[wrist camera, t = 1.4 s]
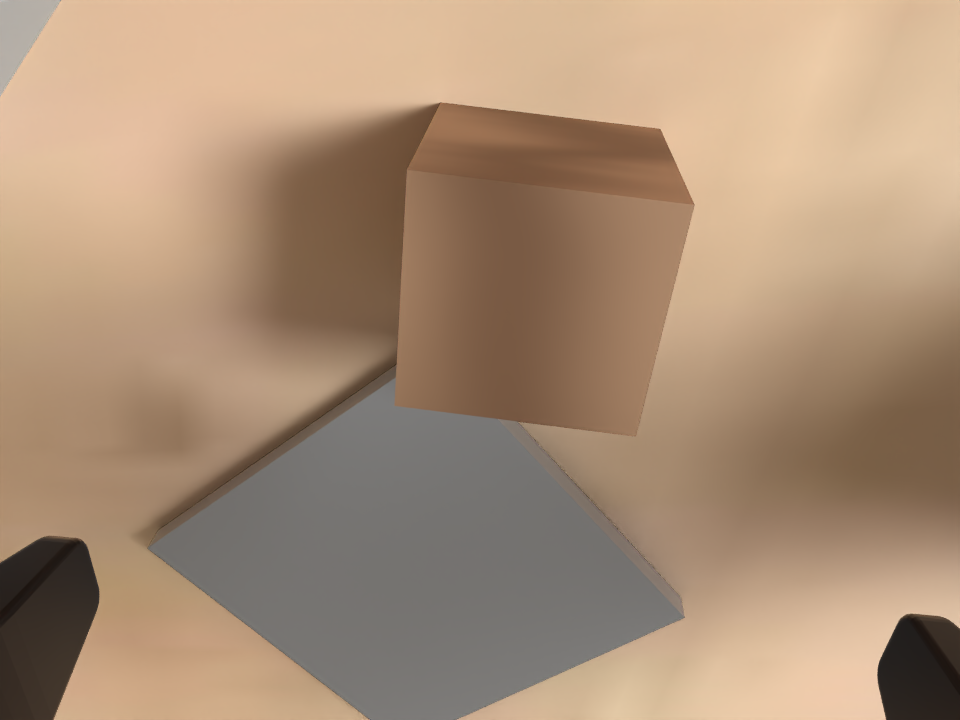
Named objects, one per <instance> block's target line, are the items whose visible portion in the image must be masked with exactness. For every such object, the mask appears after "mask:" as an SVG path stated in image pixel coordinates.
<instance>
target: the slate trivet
mask: <svg viewBox="0 0 960 720" xmlns="http://www.w3.org/2000/svg"><path fill="white" fill-rule="evenodd" d="M396 366H397V365H395V366H394V367H392V368H391V369H389V370H388V371H387V372H385V373H384V374H382V375H381V376H379V377H378V378H376V379H375V380H374V381H372V382H371V383H369V384H368V385H366V386H365V387H364V388H362V389H361V390H359V391H358V392H356V393H355V394H353V395H352V396H351V397H349V398H348V399H346V400H345V401H343V402H342V403H341V404H339V405H338V406H336V407H335V408H333V409H332V410H330V411H329V412H328V413H326V414H325V415H323V416H322V417H320V418H319V419H318V420H316V421H315V422H313V423H312V424H310V425H309V426H307V427H306V428H305V429H303V430H302V431H300V432H299V433H297V434H296V435H294V436H293V437H292V438H290V439H289V440H287V441H286V442H284V443H283V444H282V445H280V446H279V447H277V448H276V449H274V450H273V451H271V452H270V453H269V454H267V455H266V456H264V457H263V458H261V459H260V460H259V461H257V462H256V463H254V464H253V465H251V466H250V467H248V468H247V469H246V470H244V471H243V472H241V473H240V474H238V475H237V476H236V477H234V478H233V479H231V480H230V481H228V482H227V483H225V484H224V485H223V486H221V487H220V488H218V489H217V490H215V491H214V492H212V493H211V494H210V495H208V496H207V497H205V498H204V499H202V500H201V501H200V502H198V503H197V504H195V505H194V506H192V507H191V508H189V509H188V510H187V511H185V512H184V513H182V514H181V515H179V516H178V517H177V518H175V519H174V520H172V521H171V522H169V523H168V524H166V525H165V526H164V527H162V528H161V529H159V530H158V531H157V533H156V534H155V536H154V538H153V539H152V541H151V543H150V544H149V546H148V548H147V549H149V550H150V551H151V552H153V553H154V554H155V555H157V556H158V557H159V558H160V559H162V560H163V561H164V562H166V563H167V564H168V565H170V566H171V567H172V568H173V569H175V570H176V571H177V572H179V573H180V574H181V575H183V576H184V577H185V578H186V579H188V580H189V581H190V582H192V583H193V584H194V585H196V586H197V587H198V588H199V589H201V590H202V591H203V592H205V593H206V594H207V595H209V596H210V597H211V598H212V599H214V600H215V601H216V602H218V603H219V604H220V605H222V606H223V607H224V608H225V609H227V610H228V611H229V612H231V613H232V614H233V615H235V616H236V617H237V618H238V619H240V620H241V621H242V622H244V623H245V624H246V625H248V626H249V627H250V628H251V629H253V630H254V631H255V632H257V633H258V634H259V635H261V636H262V637H263V638H264V639H266V640H267V641H268V642H270V643H271V644H272V645H274V646H275V647H276V648H277V649H279V650H280V651H281V652H283V653H284V654H285V655H287V656H288V657H289V658H290V659H292V660H293V661H294V662H296V663H297V664H298V665H300V666H301V667H302V668H303V669H305V670H306V671H307V672H309V673H310V674H311V675H313V676H314V677H315V678H316V679H318V680H319V681H320V682H322V683H323V684H324V685H326V686H327V687H328V688H329V689H331V690H332V691H333V692H335V693H336V694H337V695H339V696H340V697H341V698H342V699H344V700H345V701H346V702H348V703H349V704H350V705H352V706H353V707H354V708H355V709H357V710H358V711H359V712H361V713H362V714H363V715H365V716H366V717H367V718H368V719H370V720H456V719H459V718H461V717H463V716H465V715H468V714H470V713H472V712H474V711H477V710H479V709H481V708H483V707H486V706H488V705H490V704H492V703H495V702H497V701H499V700H501V699H504V698H506V697H508V696H510V695H512V694H515V693H517V692H519V691H521V690H524V689H526V688H528V687H530V686H533V685H535V684H537V683H539V682H542V681H544V680H546V679H548V678H551V677H553V676H555V675H557V674H559V673H562V672H564V671H566V670H568V669H571V668H573V667H575V666H577V665H580V664H582V663H584V662H586V661H589V660H591V659H593V658H595V657H598V656H600V655H602V654H604V653H607V652H609V651H611V650H613V649H615V648H618V647H620V646H622V645H624V644H627V643H629V642H631V641H633V640H636V639H638V638H640V637H642V636H645V635H647V634H649V633H651V632H654V631H656V630H658V629H660V628H662V627H665V626H667V625H669V624H671V623H674V622H676V621H678V620H680V619H683V618H685V616H684V611H683V606H682V600H681V597H680V596H679V595H678V594H677V593H676V592H675V591H674V590H673V589H672V588H671V586H670V585H669V584H668V583H667V582H666V581H665V580H664V579H663V578H662V577H661V576H660V575H659V574H658V572H657V571H656V570H655V569H654V568H653V567H652V566H651V565H650V564H649V563H648V562H647V561H646V560H645V558H644V557H643V556H642V555H641V554H640V553H639V552H638V551H637V550H636V549H635V548H634V547H633V546H632V544H631V543H630V542H629V541H628V540H627V539H626V538H625V537H624V536H623V535H622V534H621V533H620V532H619V531H618V529H617V528H616V527H615V526H614V525H613V524H612V523H611V522H610V521H609V520H608V519H607V518H606V517H605V515H604V514H603V513H602V512H601V511H600V510H599V509H598V508H597V507H596V506H595V505H594V504H593V503H592V501H591V500H590V499H589V498H588V497H587V496H586V495H585V494H584V493H583V492H582V491H581V490H580V489H579V488H578V486H577V485H576V484H575V483H574V482H573V481H572V480H571V479H570V478H569V477H568V476H567V475H566V474H565V472H564V471H563V470H562V469H561V468H560V467H559V466H558V465H557V464H556V463H555V462H554V461H553V460H552V458H551V457H550V456H549V455H548V454H547V453H546V452H545V451H544V450H543V449H542V448H541V447H540V446H539V444H538V443H537V442H536V441H535V440H534V439H533V438H532V437H531V436H530V435H529V434H528V433H527V432H526V431H525V429H524V428H523V427H522V426H521V425H520V424H519V423H518V422H517V421H510V420H502V419H494V418H486V417H478V416H470V415H462V414H454V413H446V412H438V411H431V410H423V409H415V408H407V407H399V406H394V404H395V385H396Z"/></svg>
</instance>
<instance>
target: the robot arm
mask: <svg viewBox="0 0 960 720" xmlns="http://www.w3.org/2000/svg"><path fill="white" fill-rule="evenodd" d="M98 604H99V587H98V583H97V580H96V576H95V573H94V569H93V566H92V562H91V558H90V555H89V551H88V548H87V546H86V544H85V543H84V542H83V541H82V540H81V539H78V538H69V537H58V536H46V537H43V538H40V539H38V540H36V541H35V542H33V543H31V544H30V545H28V546H27V547H25V548H23V549H22V550H20V551H18V552H17V553H15V554H14V555H12V556H10V557H9V558H7V559H6V560H4V561H2V562H1V563H0V720H54V717H55V715H56V712H57V710H58V707H59V705H60V702H61V700H62V697H63V695H64V692H65V689H66V687H67V684H68V682H69V679H70V677H71V674H72V672H73V669H74V667H75V664H76V662H77V659H78V657H79V654H80V652H81V649H82V647H83V644H84V642H85V639H86V637H87V634H88V632H89V629H90V627H91V624H92V622H93V619H94V617H95V614H96V611H97V608H98ZM877 676H878V685H879V690H880V694H881V699H882V703H883V708H884V712H885V717H886V720H960V628H958V627H957V626H956V625H955V624H954V623H952V622H951V621H950V620H948V619H946V618H943V617H940V616H931V615H920V614H906V615H905V616H903V617H902V618H901V619H900V620H899V622H898V624H897V626H896V628H895V630H894V632H893V634H892V636H891V638H890V640H889V642H888V644H887V646H886V648H885V650H884V652H883V655H882V657H881V659H880V661H879V665H878V674H877Z"/></svg>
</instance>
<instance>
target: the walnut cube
mask: <svg viewBox="0 0 960 720" xmlns="http://www.w3.org/2000/svg"><path fill="white" fill-rule="evenodd" d="M693 209H694V203H693V201H692V198H691V196H690V194H689V192H688V189H687V187H686V185H685V183H684V181H683V178H682V176H681V174H680V172H679V169H678V167H677V165H676V163H675V161H674V158H673V156H672V154H671V152H670V149H669V147H668V145H667V143H666V141H665V138H664V136H663V134H662V132H661V130H660V129H655V128H647V127H639V126H631V125H622V124H614V123H606V122H597V121H589V120H581V119H573V118H564V117H556V116H548V115H540V114H531V113H523V112H515V111H506V110H498V109H490V108H482V107H473V106H465V105H457V104H449V103H440V105H439V107H438V109H437V111H436V113H435V115H434V116H433V118H432V120H431V122H430V124H429V126H428V128H427V130H426V132H425V134H424V136H423V138H422V140H421V142H420V144H419V146H418V148H417V150H416V152H415V154H414V156H413V158H412V160H411V162H410V164H409V166H408V168H407V175H406V194H405V213H404V232H403V252H402V271H401V290H400V309H399V328H398V347H397V366H396V385H395V404H394V406H399V407H407V408H415V409H423V410H431V411H438V412H446V413H454V414H462V415H470V416H478V417H486V418H494V419H502V420H510V421H518V422H526V423H533V424H541V425H549V426H557V427H565V428H573V429H581V430H589V431H597V432H605V433H613V434H621V435H628V436H636V433H637V429H638V425H639V422H640V418H641V414H642V410H643V406H644V402H645V398H646V394H647V390H648V386H649V382H650V378H651V374H652V370H653V366H654V362H655V359H656V355H657V351H658V347H659V343H660V339H661V335H662V331H663V327H664V323H665V319H666V315H667V311H668V307H669V303H670V299H671V295H672V292H673V288H674V284H675V280H676V276H677V272H678V268H679V264H680V260H681V256H682V252H683V248H684V244H685V240H686V236H687V232H688V229H689V225H690V221H691V217H692V213H693Z"/></svg>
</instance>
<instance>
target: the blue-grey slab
mask: <svg viewBox="0 0 960 720" xmlns="http://www.w3.org/2000/svg"><path fill="white" fill-rule="evenodd" d="M60 1H61V0H0V96H1V95H2V93H3V91H4V90H5V88H6V87H7V85H8V84H9V82H10V80H11V79H12V77H13V76H14V74H15V72H16V71H17V69H18V68H19V66H20V64H21V63H22V61H23V60H24V58H25V56H26V55H27V53H28V52H29V50H30V49H31V47H32V45H33V44H34V42H35V41H36V39H37V37H38V36H39V34H40V33H41V31H42V29H43V28H44V26H45V25H46V23H47V22H48V20H49V18H50V17H51V15H52V14H53V12H54V10H55V9H56V7H57V6H58V4H59V2H60Z"/></svg>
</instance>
